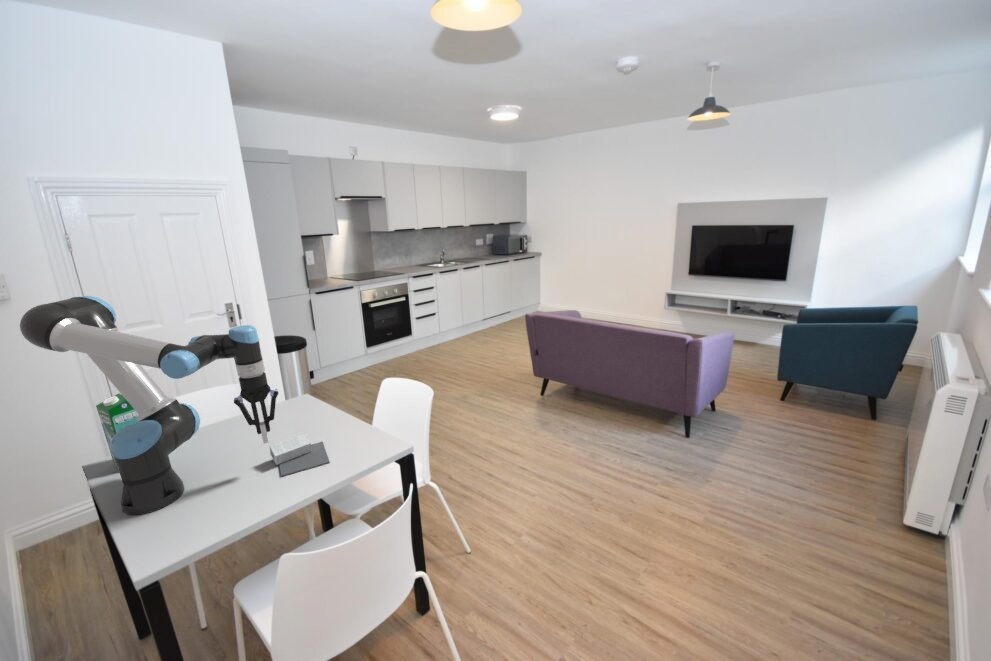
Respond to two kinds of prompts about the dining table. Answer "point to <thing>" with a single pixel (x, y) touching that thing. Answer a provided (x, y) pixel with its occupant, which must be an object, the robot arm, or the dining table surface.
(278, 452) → the skincare box
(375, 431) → the dining table surface
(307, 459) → the mat
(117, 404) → the milk carton
